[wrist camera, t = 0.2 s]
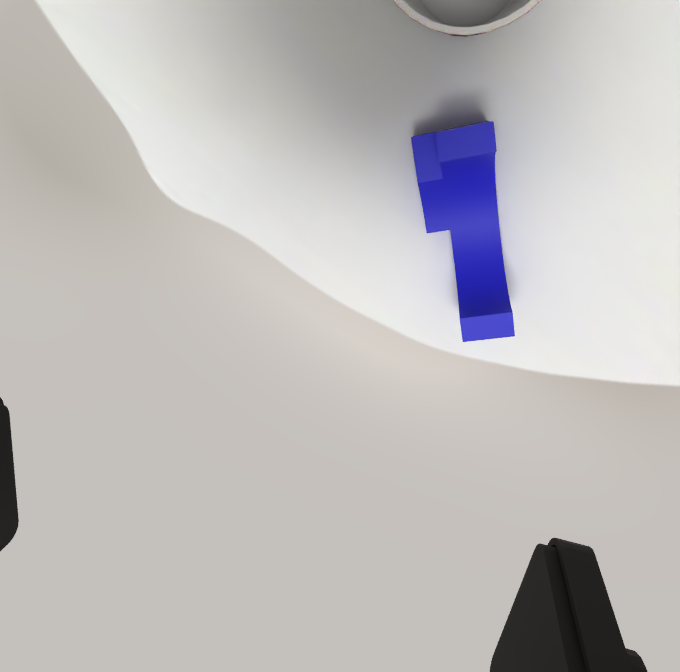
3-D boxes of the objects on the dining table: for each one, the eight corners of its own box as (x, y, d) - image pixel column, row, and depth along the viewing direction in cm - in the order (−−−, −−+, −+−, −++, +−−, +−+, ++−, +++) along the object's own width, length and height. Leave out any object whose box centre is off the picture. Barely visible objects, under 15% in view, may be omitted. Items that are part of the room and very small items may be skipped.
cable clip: (414, 136, 35) (407, 139, 30) (487, 121, 34) (493, 121, 29) (440, 313, 39) (437, 344, 34) (505, 304, 38) (514, 336, 33)
